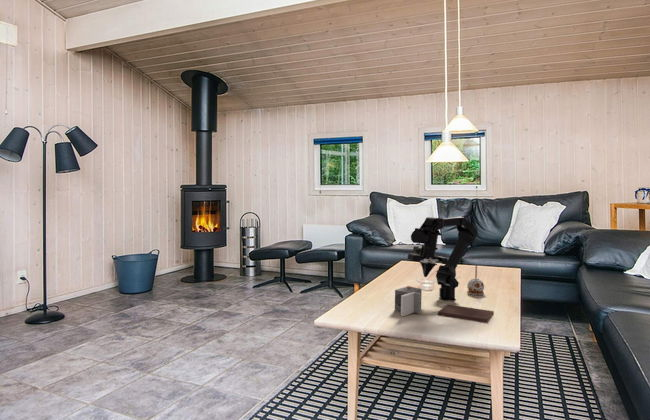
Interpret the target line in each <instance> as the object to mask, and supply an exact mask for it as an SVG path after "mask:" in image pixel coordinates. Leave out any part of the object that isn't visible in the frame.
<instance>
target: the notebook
mask: <svg viewBox="0 0 650 420" xmlns="http://www.w3.org/2000/svg"><path fill="white" fill-rule="evenodd" d="M493 313H495V312H494V311H493V310H487V309H480V308H476V307H468V306H460V305H455V304H449V303H448V304H445V306H443V308H441V309H440V310H438V312H437V315H438V316H443V317H448V318H449V317H450V318H455V319H461V320H465V321H466V320H468V321H473V322H479V323H485V322H487V323H488V322H489V320H490V319H491V318H492V316H493V315H494V314H493ZM492 314H493V315H492ZM491 315H492V316H491ZM490 317H491V318H490Z"/></svg>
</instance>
